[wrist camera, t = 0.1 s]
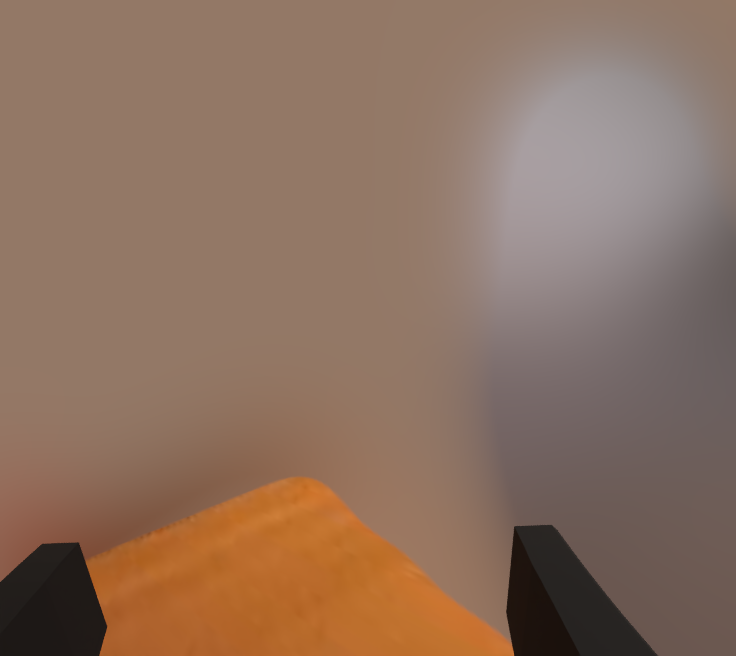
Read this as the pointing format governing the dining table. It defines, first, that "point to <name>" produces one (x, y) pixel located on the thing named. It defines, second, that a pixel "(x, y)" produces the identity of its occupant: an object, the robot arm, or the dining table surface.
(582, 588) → the robot arm
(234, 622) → the dining table surface
